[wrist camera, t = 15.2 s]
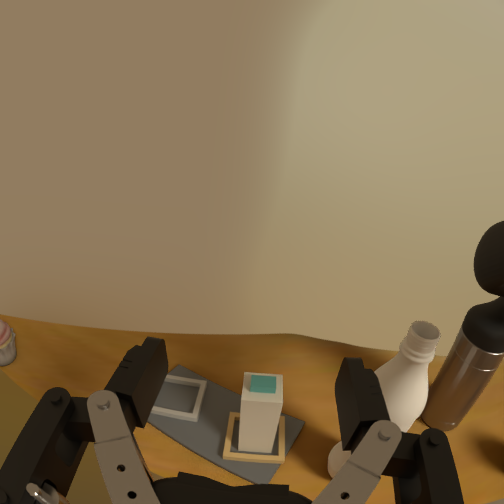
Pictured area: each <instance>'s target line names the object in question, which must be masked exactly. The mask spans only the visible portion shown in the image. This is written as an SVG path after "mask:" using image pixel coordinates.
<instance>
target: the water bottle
mask: <svg viewBox="0 0 504 504" xmlns="http://www.w3.org/2000/svg"><path fill="white" fill-rule="evenodd" d="M440 335H441V333H440V331H439V329H438V328H437V327H436V326H434V325H433V324H431V323H428V322H425V321H415V322H414V323H412V325H411V326H410V328H409V331H408V334H407V336H406V337H405V338H404V340H403V341H402V342H401V343H400V347H399V349H400V351H399V352H398V354H397V355H396V356H395V357H394V358H392V359H391V360H389V361H388V362H386V363H385V364H383V365H382V366H381V367H379V368H378V369H377V370H376V371H374V373H375V374H376V375H377V377H378V380H379V383H380V387H381V389H382V394H383V396H384V399H385V403H386V406H387V410H388V413H389V417H390V420H391V422H393V423H395V424H396V425H398V427H399V428H400V430H401V431H403V432H407V431H408V429H409V428H410V427H411V425H412V424H413V422H414V421H415V420H416V419H417V418H418V417H419V416H420V414H421V413H422V411H423V409H424V407H425V405H426V402H427V397H428V374H427V370H428V364H429V363H430V362H431V361H432V360H433V358H434V355H435V349H436V348H435V347H436V346H437V343H438V341H439V339H440V337H441V336H440ZM350 456H351V451H343V449H342V441H340V442H338V443H337V444H336V445H335V446H334V447H333V448H332V450H331V451H330V454H329V456H328V472H329V474H330V476H331V477H332V478H334V476H335V475H336V474H337V473H338V471H339V470H340V469H341V468H342V466H343V465H344V464H345V462H346V461H347V460H348V459H349V458H350Z"/></svg>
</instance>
